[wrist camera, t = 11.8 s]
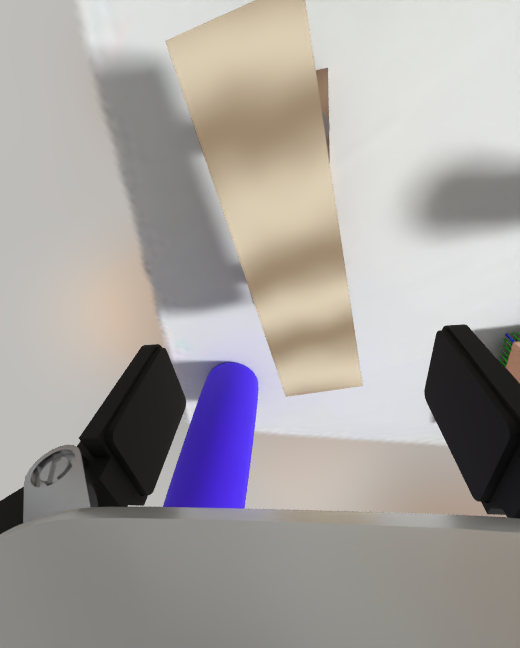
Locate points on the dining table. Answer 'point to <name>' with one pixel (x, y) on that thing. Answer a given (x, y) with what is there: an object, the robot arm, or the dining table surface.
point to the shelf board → (274, 182)
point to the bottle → (218, 442)
